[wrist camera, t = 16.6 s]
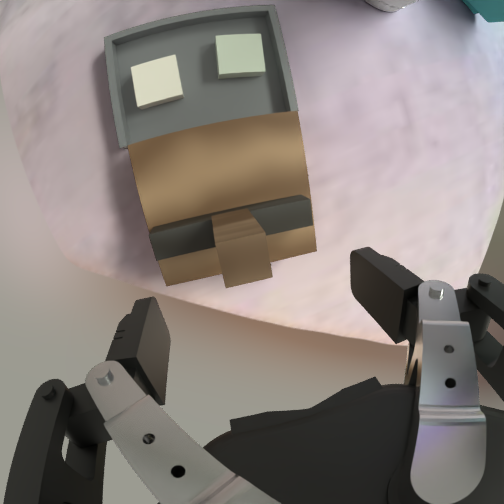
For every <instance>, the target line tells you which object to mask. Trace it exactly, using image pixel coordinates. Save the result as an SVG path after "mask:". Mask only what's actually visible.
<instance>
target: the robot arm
mask: <svg viewBox="0 0 504 504" xmlns="http://www.w3.org/2000/svg"><path fill="white" fill-rule="evenodd" d="M365 1H366V2H367V3H369V4H370V5H372V6H373V7H375V8H378V9H380V10H383V11H386V12H395V11H398V10H400V9H402V8H404V7H406V6H408V5H410V4H412V3H414V2H416V1H419V0H365ZM350 272H351V290H352V293H353V295H354V297H355V299H356V300H357V301H358V302H359V303H360V304H361V305H362V306H363V307H364V308H365V310H366V311H367V312H368V313H369V314H370V315H371V316H372V317H373V318H374V320H375V321H376V322H377V323H378V324H379V325H380V326H381V328H382V329H383V330H384V331H385V332H386V333H387V334H388V335H389V337H390V338H391V339H392V340H393V341H394V342H395V344H397V343H400V342H402V341H404V340H406V339H407V340H408V341H409V344H408V349H407V359H406V360H407V361H406V369H405V377H404V384H388V385H381V384H380V383H379V382H378V380H377V379H376V377H373V378H371V379H368V380H365V381H363V382H360V383H358V384H355V385H352V386H350V387H347V388H344V389H342V390H341V391H339V392H337V393H336V394H334V395H332V396H331V397H329V398H327V399H326V400H324V401H322V402H321V403H319V404H317V405H315V406H314V407H312V408H309V409H303V410H290V411H272V412H264V413H260V414H255V415H251V416H246V417H241V418H237V419H231V420H230V425H231V431H228V432H226V433H224V434H222V435H220V436H218V437H216V438H215V439H214V440H212V441H210V442H209V443H208V444H207V445H206V446H204V447H203V448H202V447H201V446H200V445H199V444H198V443H197V442H196V441H195V440H194V439H193V438H191V437H190V436H189V435H188V434H187V433H186V432H185V431H184V430H183V429H182V428H181V427H180V426H179V425H177V423H176V422H175V421H174V420H173V419H172V418H171V417H170V416H169V415H168V414H167V413H166V412H165V411H164V410H163V409H162V408H161V407H160V406H159V405H165V396H166V383H167V372H168V362H169V351H170V334H169V330H168V328H167V325H166V323H165V320H164V318H163V315H162V313H161V310H160V308H159V305H158V303H157V300H156V298H155V297H149V298H144V299H139V300H136V301H135V303H134V306H133V309H132V312H131V314H127V315H126V316H125V317H124V318H123V319H122V320H121V321H120V323H119V325H118V327H117V330H116V333H115V336H114V340H113V341H112V344H111V346H110V349H109V352H108V355H107V357H106V361H105V362H102V363H99V364H98V365H96V366H94V367H93V368H92V369H91V370H90V371H89V372H88V374H87V376H86V379H85V383H84V384H81V385H79V386H75V387H72V388H69V389H68V388H67V387H66V385H65V384H64V383H63V381H61V380H59V379H52V380H49V381H47V382H45V383H43V384H42V385H41V386H40V387H39V388H38V389H37V391H36V393H35V395H34V398H33V400H32V403H31V405H30V408H29V411H28V413H27V416H26V419H25V422H24V425H23V428H22V431H21V434H20V437H19V440H18V443H17V447H16V450H15V454H14V457H13V461H12V465H11V469H10V473H9V477H8V482H7V487H6V492H5V498H4V504H102V499H103V497H102V496H103V479H104V465H105V455H106V445H107V441H109V440H113V441H114V442H115V444H116V445H117V447H118V448H119V450H120V451H121V453H122V454H123V456H124V457H125V459H126V460H127V462H128V463H129V464H130V466H131V467H132V469H133V470H134V471H135V473H136V474H137V475H138V476H139V478H140V479H141V480H142V481H143V483H144V484H145V485H146V487H147V488H148V489H149V490H150V492H151V493H152V494H153V495H154V496H155V498H156V499H157V500H158V501H159V503H158V504H504V411H503V410H499V409H494V408H490V407H486V406H482V405H480V404H479V388H478V377H477V370H478V371H479V372H480V373H481V375H482V376H483V377H484V378H485V379H486V380H487V382H488V383H489V384H490V385H491V386H492V388H493V389H494V390H495V391H496V393H497V394H498V395H499V396H500V398H501V399H502V400H503V401H504V346H502V345H501V344H500V343H499V342H498V341H497V340H496V339H495V338H494V337H493V336H492V335H491V334H490V333H489V332H488V331H487V328H488V325H489V323H490V319H491V318H492V319H494V321H495V322H497V323H498V324H499V325H500V326H501V327H502V328H503V329H504V284H502V283H501V282H499V281H498V280H497V279H495V278H494V277H492V276H490V275H487V274H474V275H472V276H470V278H469V281H468V286H467V288H464V289H458V290H454V289H453V287H452V286H451V285H449V284H448V283H446V282H443V281H439V280H429V281H425V282H424V281H423V280H422V279H420V278H419V277H418V276H416V275H415V274H414V273H412V272H411V271H409V270H408V269H406V268H405V267H404V266H402V265H400V263H398V262H397V261H395V260H394V259H392V258H390V257H387V256H384V255H380V254H379V253H377V252H376V251H374V250H373V249H372V248H370V247H365V248H361V249H357V250H353V251H352V252H351V254H350ZM64 436H66V437H67V438H68V439H69V444H68V449H67V454H66V460H65V461H64V459H63V457H62V445H63V441H64Z"/></svg>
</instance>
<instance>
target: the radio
mask: <svg viewBox="0 0 504 504" xmlns="http://www.w3.org/2000/svg"><path fill="white" fill-rule="evenodd" d="M462 1H463V2H464V3H465V4H466V5H467V6H468V8H469V9H470V10H471V11H472V12H473V13H474V14H476V13H479V14H480V15H481V16H482V17H483V18H484V19H485V20H486V21H487V22H503V21H504V0H462Z"/></svg>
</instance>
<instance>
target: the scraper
mask: <svg viewBox="0 0 504 504" xmlns="http://www.w3.org/2000/svg"><path fill="white" fill-rule="evenodd" d="M308 226H313V217H312V209H311V200H310V199H309V198H307V197H305V196H303V195H301V194H300V195H295V196H290V197H285V198H279V199H274V200H269V201H264V202H259V203H255V204H250V205H245V206H240V207H236V208H231V209H226V210H222V211H217V212H213V213H209V214H204V215H200V216H196V217H191V218H187V219H183V220H179V221H175V222H171V223H167V224H163V225H159V226H155V227H153V228H152V230H151V232H150V233H149V238H150V241H151V244H152V248H153V251H154V254H155V257H156V261H158V260H162V259H167V258H171V257H175V256H179V255H184V254H188V253H192V252H197V251H201V250H205V249H210V248H214V247H216V250H217V254H218V258H219V262H220V266H221V270H222V274H223V279H224V283H225V287H226V288H229V287H233V286H238V285H242V284H246V283H251V282H255V281H259V280H263V279H267V278H271V277H273V276H272V270H271V264H270V258H269V252H268V246H267V240H266V236H267V235H272V234H276V233H281V232H285V231H290V230H294V229H299V228H304V227H308Z"/></svg>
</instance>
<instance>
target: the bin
mask: <svg viewBox="0 0 504 504" xmlns="http://www.w3.org/2000/svg"><path fill="white" fill-rule="evenodd" d="M233 34H261V39H262V46H263V54H264V62H265V70H266V72H265V73H264V74H263V75H262V76H255V77H237V78H225V79H218V72H217V62H216V51H215V36H218V35H233ZM104 45H105V56H106V66H107V74H108V82H109V90H110V97H111V103H112V109H113V115H114V121H115V127H116V132H117V137H118V142H119V147H120V148H128V145H130V144H133V143H137V142H140V141H143V140H147V139H150V138H154V137H157V136H161V135H165V134H169V133H173V132H177V131H181V130H185V129H189V128H193V127H198V126H202V125H207V124H212V123H217V122H222V121H227V120H233V119H239V118H245V117H251V116H258V115H265V114H272V113H280V112H289V111H298V106H297V100H296V95H295V90H294V85H293V80H292V76H291V71H290V66H289V62H288V57H287V53H286V49H285V44H284V40H283V36H282V32H281V28H280V24H279V20H278V16H277V13H276V9H275V5H257V6H241V7H230V8H221V9H214V10H207V11H200V12H195V13H189V14H184V15H179V16H174V17H170V18H166V19H161V20H157V21H154V22H150V23H146V24H143V25H139V26H136V27H133V28H130V29H127V30H123V31H121V32H118V33H115V34H112V35H109V36H107V37H104ZM171 55H176V59H177V63H178V68H179V74H180V79H181V84H182V89H183V94H184V98H182V99H178V100H174V101H170V102H166V103H163V104H159V105H156V106H152V107H149V108H145V109H140V108H138V107H137V102H136V96H135V90H134V84H133V78H132V72H131V67H133V66H136V65H139V64H142V63H145V62H149V61H152V60H156V59H159V58H163V57H167V56H171Z"/></svg>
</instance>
